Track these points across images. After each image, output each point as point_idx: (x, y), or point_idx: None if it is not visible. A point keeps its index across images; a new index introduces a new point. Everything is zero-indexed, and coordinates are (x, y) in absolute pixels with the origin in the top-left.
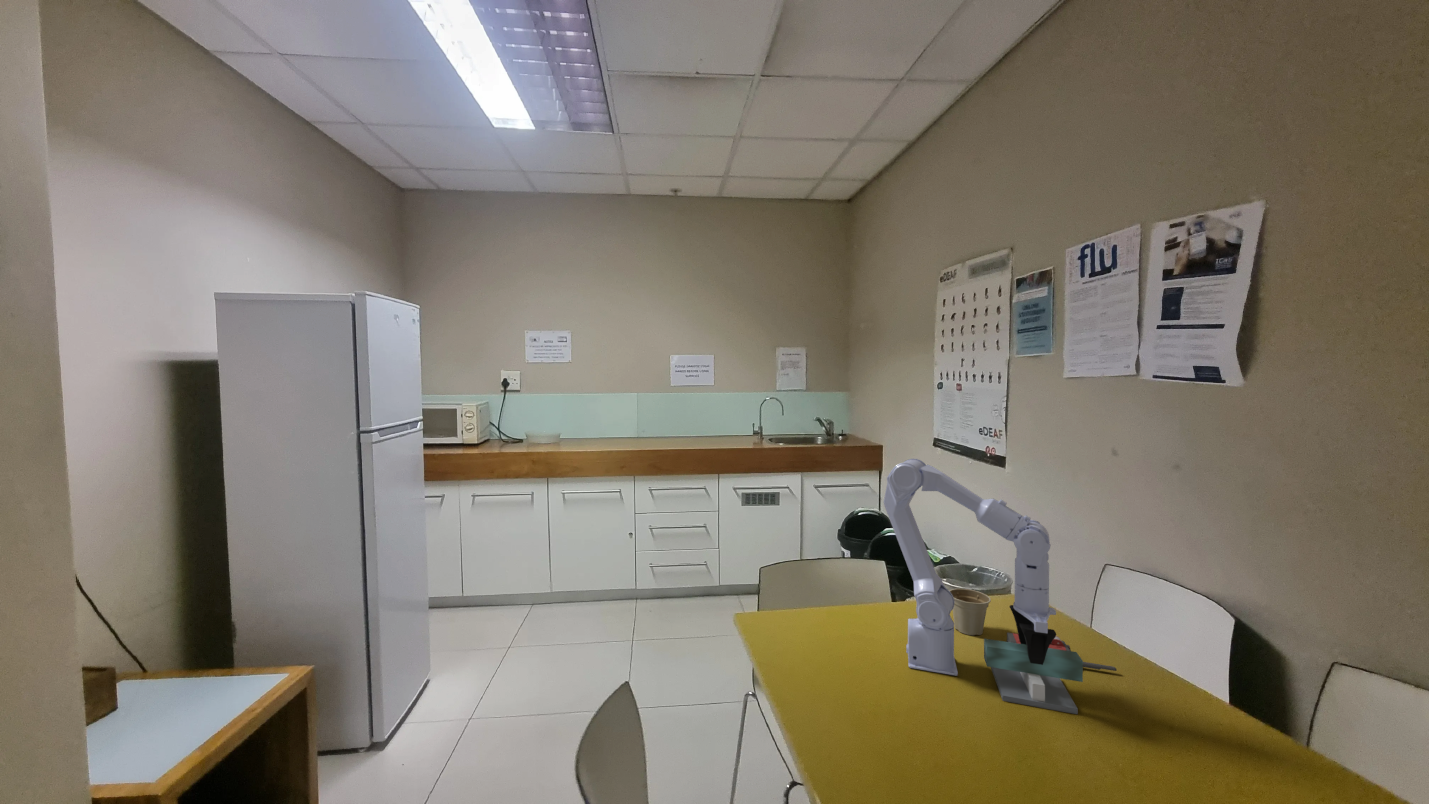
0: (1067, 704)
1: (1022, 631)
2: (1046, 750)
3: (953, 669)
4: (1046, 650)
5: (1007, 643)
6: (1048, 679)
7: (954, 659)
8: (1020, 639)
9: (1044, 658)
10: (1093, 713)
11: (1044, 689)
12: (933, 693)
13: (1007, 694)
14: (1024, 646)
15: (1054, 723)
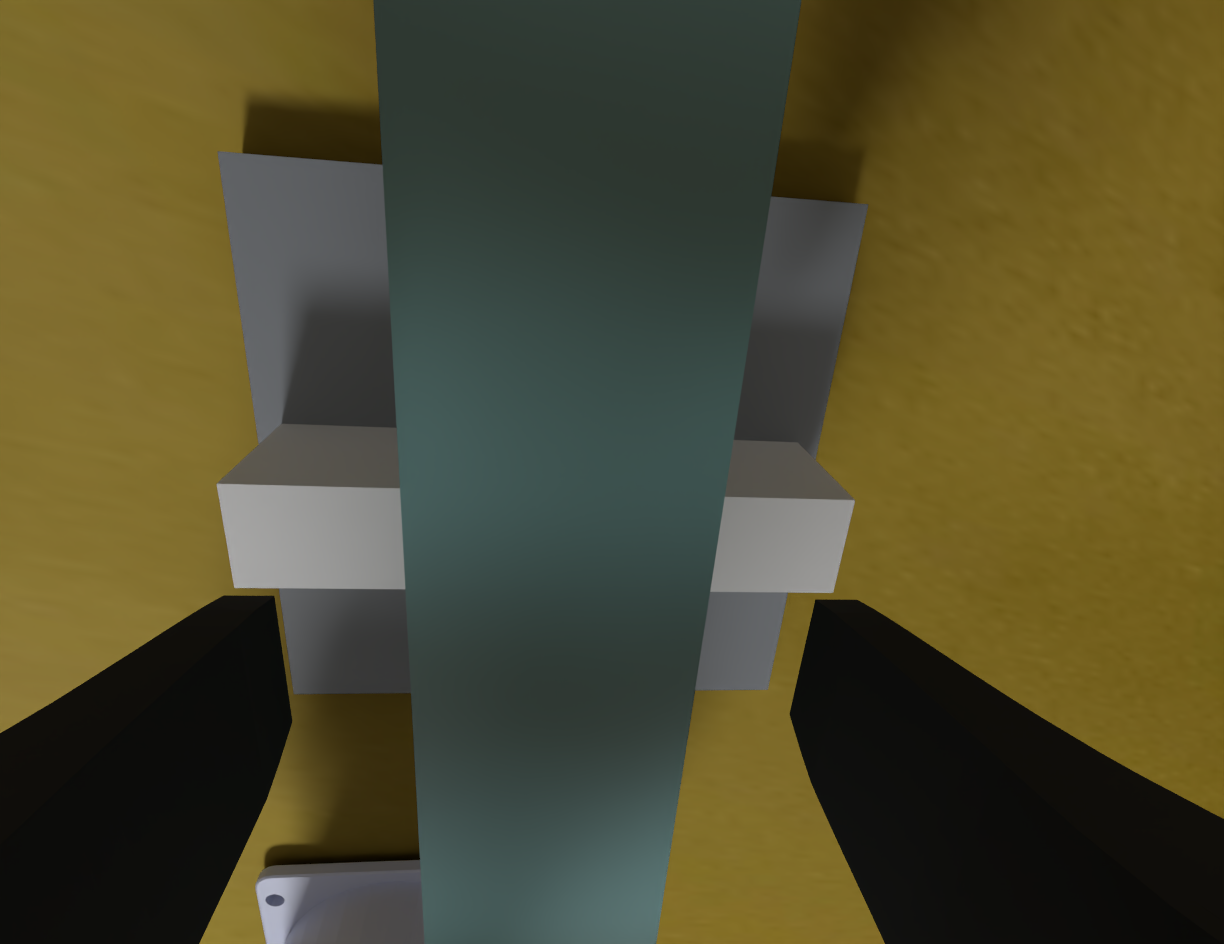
0: (811, 271)
1: (185, 893)
2: (1218, 544)
3: None
4: (1071, 746)
5: (477, 914)
6: (385, 292)
7: (320, 876)
8: (268, 784)
9: (923, 646)
10: (808, 39)
11: (836, 486)
12: (753, 940)
13: (748, 661)
14: (493, 762)
15: (973, 423)
